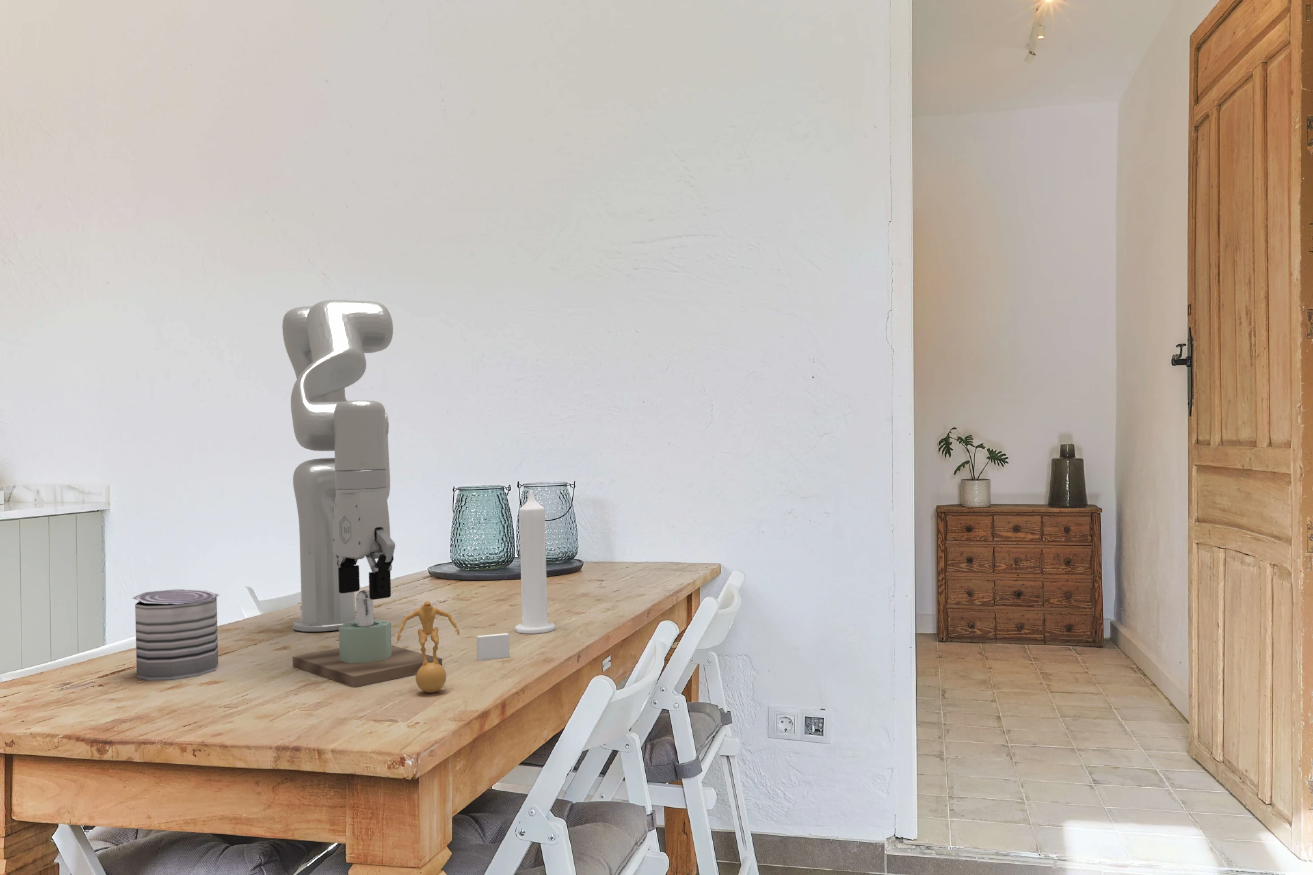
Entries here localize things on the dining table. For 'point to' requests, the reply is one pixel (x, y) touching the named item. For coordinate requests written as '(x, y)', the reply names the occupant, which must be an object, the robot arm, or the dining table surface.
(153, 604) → the can
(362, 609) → the post
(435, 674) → the figurine
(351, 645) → the bead
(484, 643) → the eraser
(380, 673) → the stand board
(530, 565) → the candle
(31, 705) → the dining table surface
